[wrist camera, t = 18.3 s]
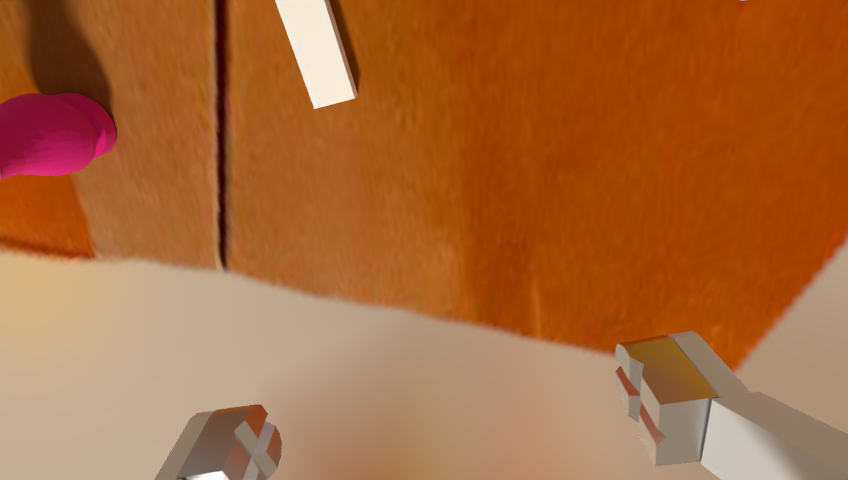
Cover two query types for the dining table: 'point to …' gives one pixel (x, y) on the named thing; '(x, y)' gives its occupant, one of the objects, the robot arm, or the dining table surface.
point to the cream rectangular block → (318, 50)
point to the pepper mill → (52, 134)
